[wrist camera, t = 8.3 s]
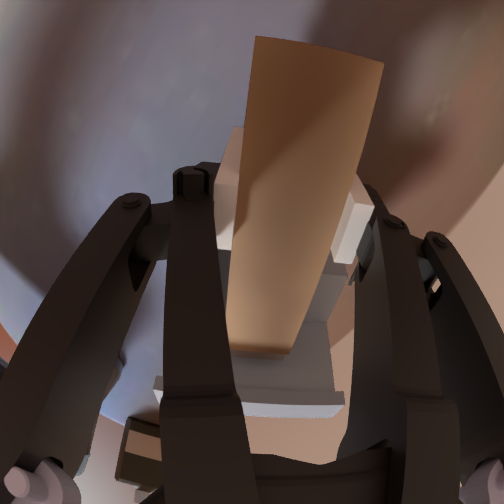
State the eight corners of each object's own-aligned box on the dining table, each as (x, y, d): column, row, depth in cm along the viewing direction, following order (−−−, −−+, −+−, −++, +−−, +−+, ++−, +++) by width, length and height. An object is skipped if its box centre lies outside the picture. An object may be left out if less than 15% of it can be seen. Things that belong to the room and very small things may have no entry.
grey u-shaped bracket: (194, 258, 29) (159, 403, 18) (194, 193, 25) (137, 351, 13) (314, 272, 30) (331, 417, 18) (334, 211, 25) (377, 371, 14)
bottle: (177, 435, 76) (167, 508, 57) (126, 421, 72) (111, 495, 53) (182, 431, 71) (172, 510, 52) (127, 415, 68) (111, 495, 49)
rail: (231, 285, 22) (222, 355, 18) (260, 37, 12) (255, 35, 7) (284, 291, 23) (286, 360, 18) (341, 52, 12) (384, 63, 7)
